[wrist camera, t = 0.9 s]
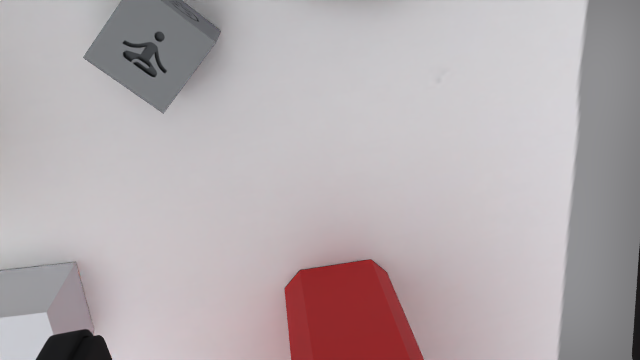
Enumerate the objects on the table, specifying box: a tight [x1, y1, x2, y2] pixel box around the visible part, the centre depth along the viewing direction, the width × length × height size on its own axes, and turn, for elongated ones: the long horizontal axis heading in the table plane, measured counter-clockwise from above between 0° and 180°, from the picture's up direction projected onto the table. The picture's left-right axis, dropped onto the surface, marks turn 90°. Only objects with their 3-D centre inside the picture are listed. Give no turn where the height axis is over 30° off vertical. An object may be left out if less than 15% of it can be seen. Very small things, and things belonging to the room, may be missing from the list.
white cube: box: [0, 262, 94, 360], centre depth 37 cm, size 6×6×6 cm
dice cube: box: [83, 0, 221, 114], centre depth 32 cm, size 5×5×5 cm
